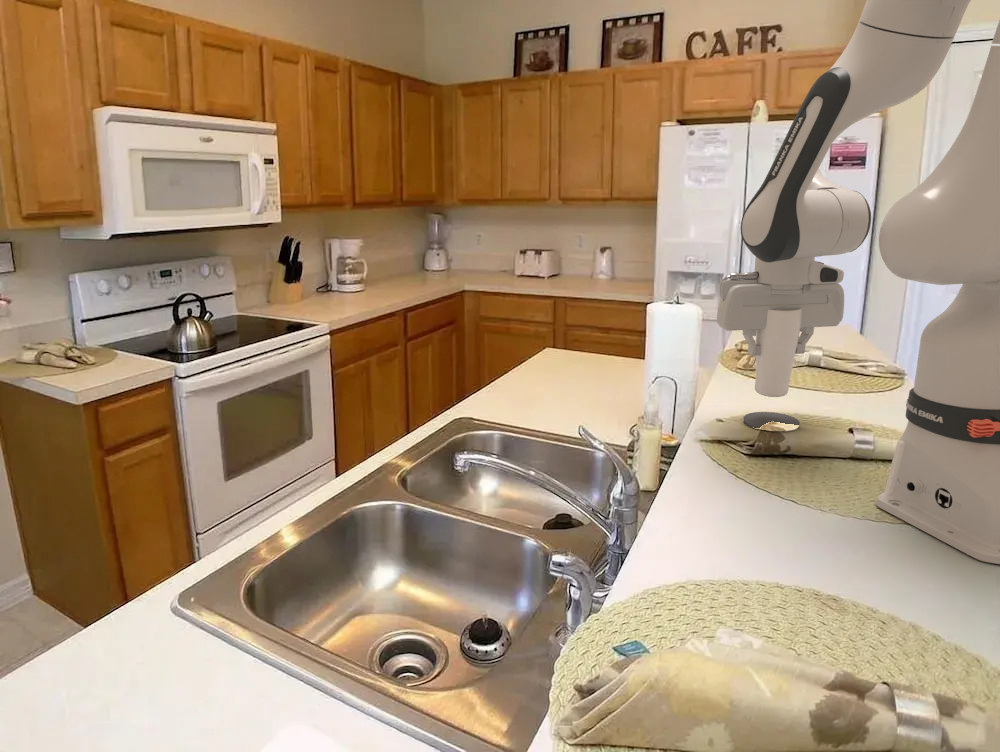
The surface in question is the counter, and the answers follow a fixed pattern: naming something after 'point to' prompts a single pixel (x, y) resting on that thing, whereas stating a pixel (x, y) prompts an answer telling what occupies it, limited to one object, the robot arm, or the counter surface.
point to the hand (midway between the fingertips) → (775, 354)
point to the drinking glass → (777, 352)
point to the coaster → (768, 419)
